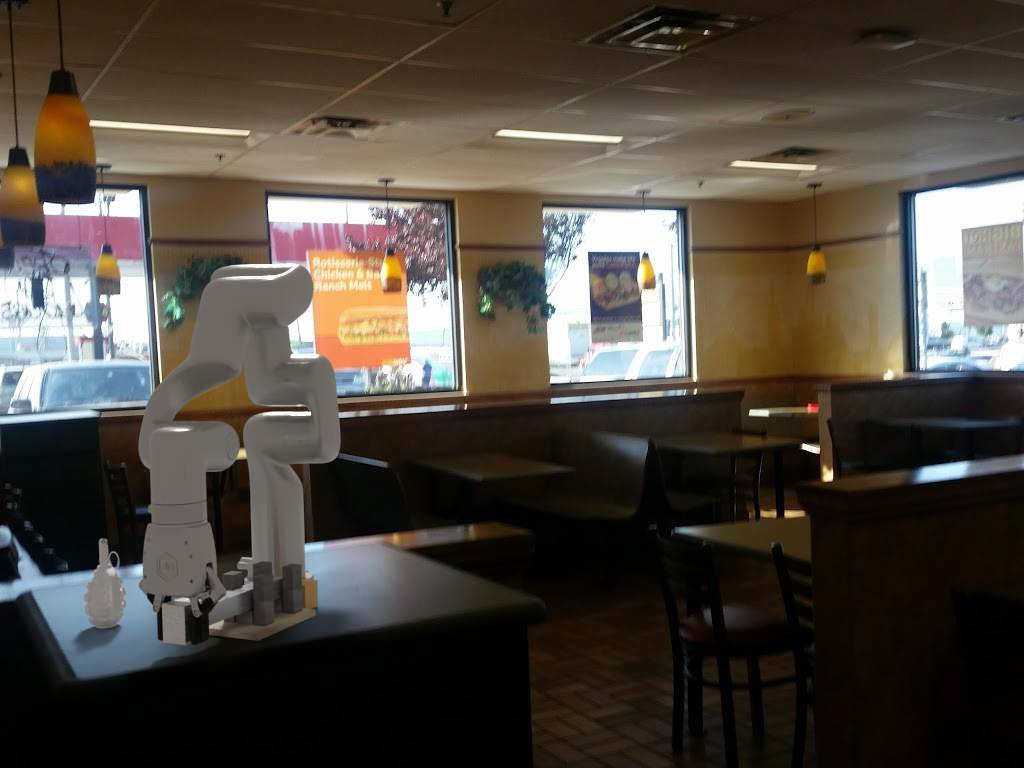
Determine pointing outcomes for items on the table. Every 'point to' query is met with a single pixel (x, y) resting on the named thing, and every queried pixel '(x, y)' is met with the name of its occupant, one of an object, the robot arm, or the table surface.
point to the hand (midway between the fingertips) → (183, 638)
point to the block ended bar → (229, 606)
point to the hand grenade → (105, 592)
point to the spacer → (309, 593)
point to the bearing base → (260, 630)
